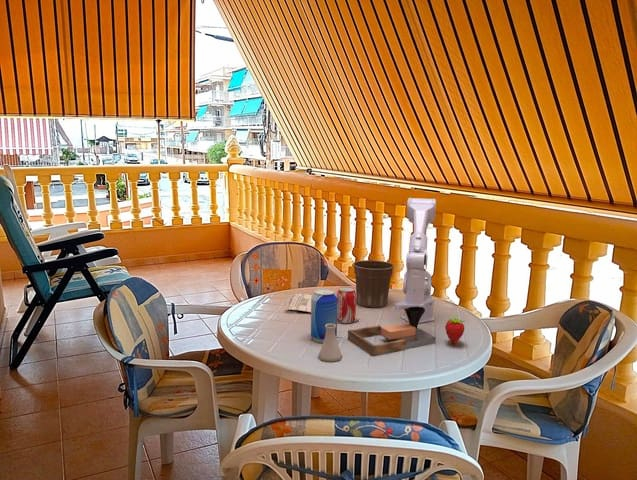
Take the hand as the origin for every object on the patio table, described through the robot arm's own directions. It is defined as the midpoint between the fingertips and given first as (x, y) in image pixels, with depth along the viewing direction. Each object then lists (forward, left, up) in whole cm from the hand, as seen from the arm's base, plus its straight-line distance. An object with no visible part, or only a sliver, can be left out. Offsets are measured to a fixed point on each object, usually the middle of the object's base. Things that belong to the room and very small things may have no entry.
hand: (413, 328), depth 168 cm
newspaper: (+19, -47, -4) cm, 51 cm away
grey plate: (+2, 0, -3) cm, 4 cm away
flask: (+32, +3, -3) cm, 33 cm away
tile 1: (+8, 0, -1) cm, 9 cm away
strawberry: (-9, +10, -3) cm, 14 cm away
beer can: (+27, -11, -3) cm, 30 cm away
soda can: (+12, -23, -3) cm, 26 cm away
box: (+14, 0, -3) cm, 14 cm away
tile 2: (+3, 0, -1) cm, 4 cm away
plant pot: (-8, -37, -3) cm, 38 cm away
